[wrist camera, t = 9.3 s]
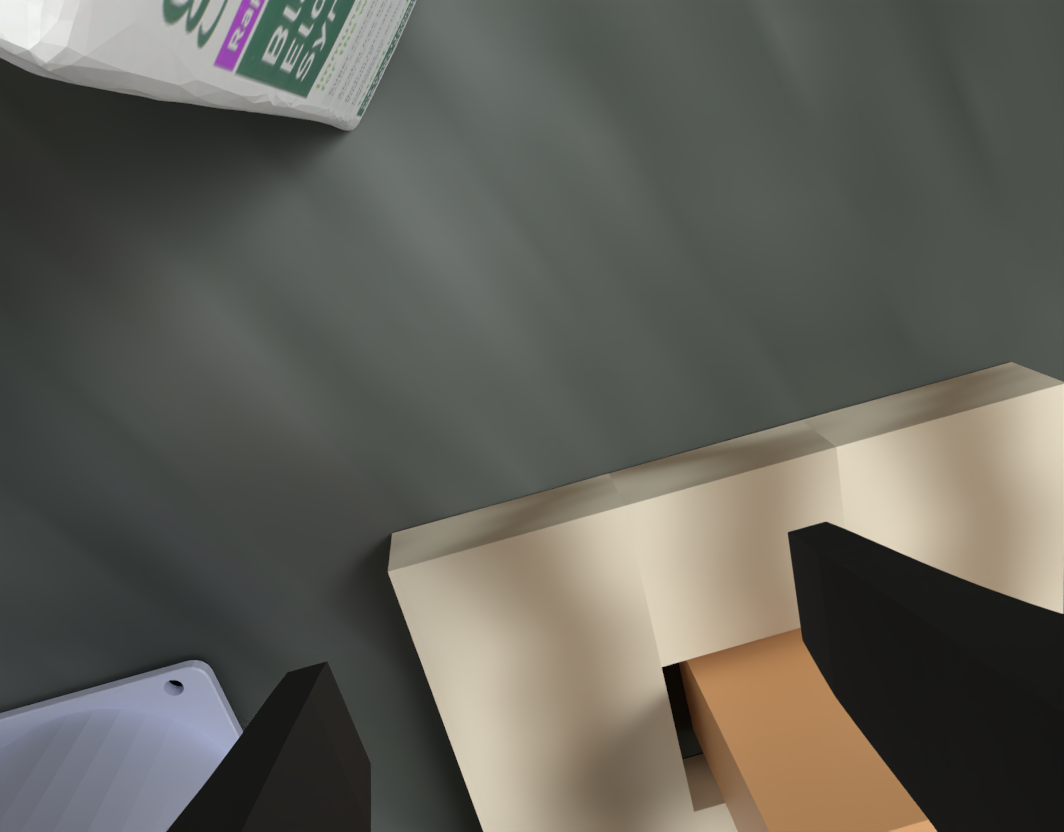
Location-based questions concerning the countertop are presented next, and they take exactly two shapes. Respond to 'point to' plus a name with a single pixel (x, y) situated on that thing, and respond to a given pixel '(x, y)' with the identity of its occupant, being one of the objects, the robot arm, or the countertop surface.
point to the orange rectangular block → (789, 745)
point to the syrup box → (214, 50)
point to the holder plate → (702, 585)
